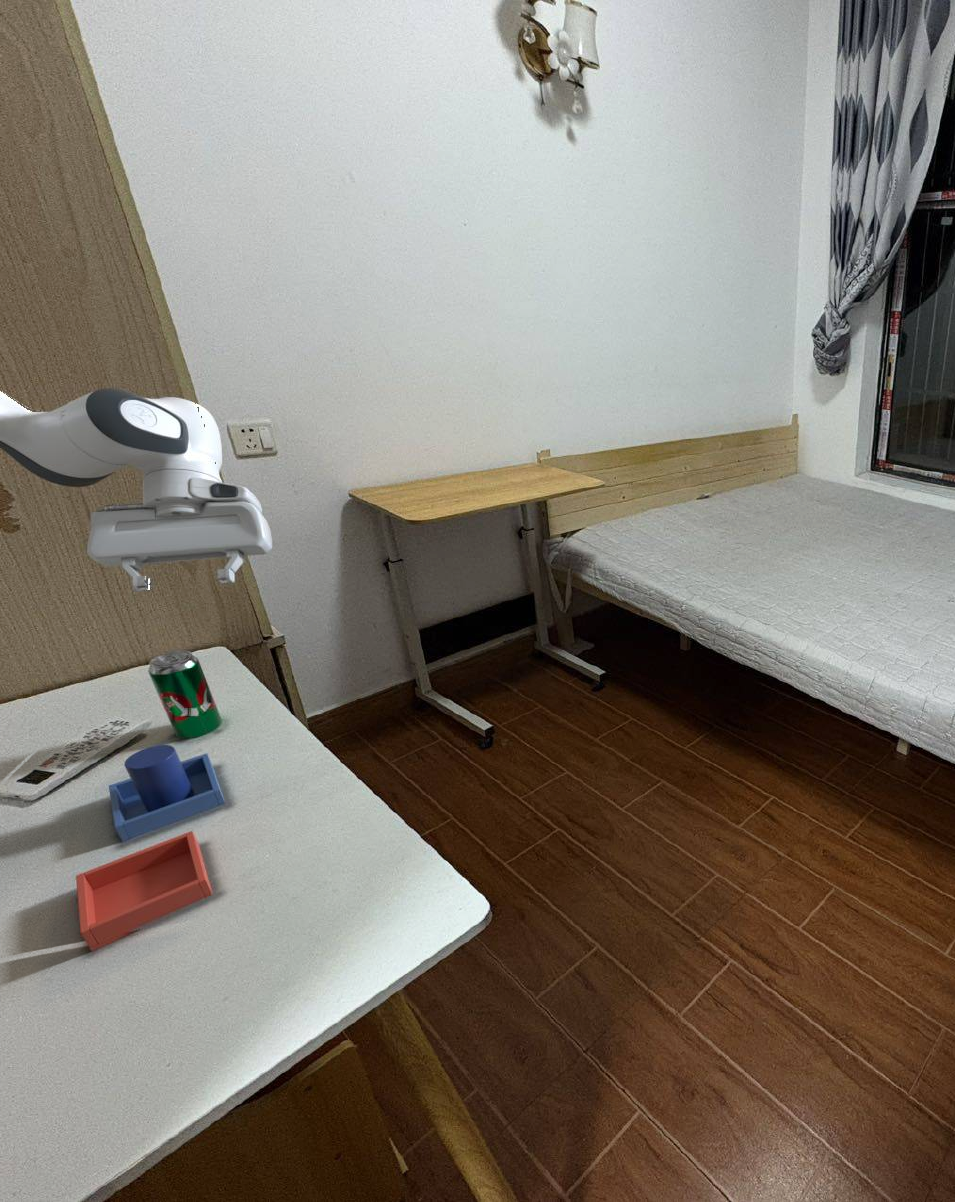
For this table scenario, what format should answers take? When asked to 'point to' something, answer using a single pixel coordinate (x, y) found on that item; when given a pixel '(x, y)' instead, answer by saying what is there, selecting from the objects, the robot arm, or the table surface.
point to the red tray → (140, 889)
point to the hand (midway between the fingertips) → (185, 585)
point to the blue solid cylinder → (158, 777)
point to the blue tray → (138, 821)
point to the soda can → (184, 694)
